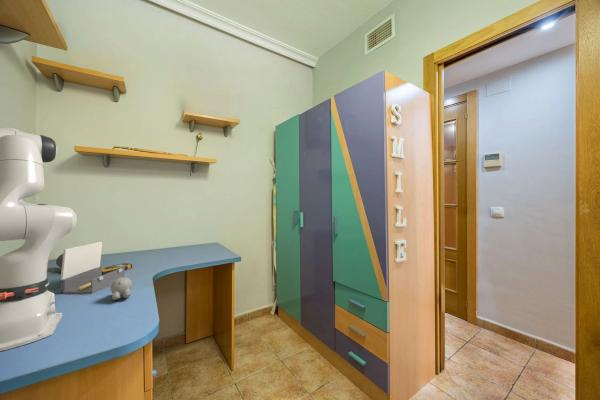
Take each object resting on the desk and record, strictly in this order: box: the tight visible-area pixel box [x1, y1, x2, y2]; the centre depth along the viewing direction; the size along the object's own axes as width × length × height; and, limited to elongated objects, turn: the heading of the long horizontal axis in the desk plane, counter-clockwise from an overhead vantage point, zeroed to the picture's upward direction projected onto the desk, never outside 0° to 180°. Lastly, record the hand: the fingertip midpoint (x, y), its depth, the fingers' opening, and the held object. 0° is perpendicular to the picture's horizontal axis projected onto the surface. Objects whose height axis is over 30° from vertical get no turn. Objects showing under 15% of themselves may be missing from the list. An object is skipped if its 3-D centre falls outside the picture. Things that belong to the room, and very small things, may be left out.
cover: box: [60, 241, 103, 281], centre depth 111 cm, size 20×13×1 cm
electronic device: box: [102, 262, 133, 275], centre depth 133 cm, size 8×16×3 cm, turn 160°
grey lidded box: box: [62, 266, 126, 295], centre depth 111 cm, size 20×13×6 cm, turn 3°
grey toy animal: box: [110, 276, 133, 301], centre depth 98 cm, size 7×12×8 cm, turn 36°
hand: (53, 221), depth 109 cm, fingers open, 8 cm apart
